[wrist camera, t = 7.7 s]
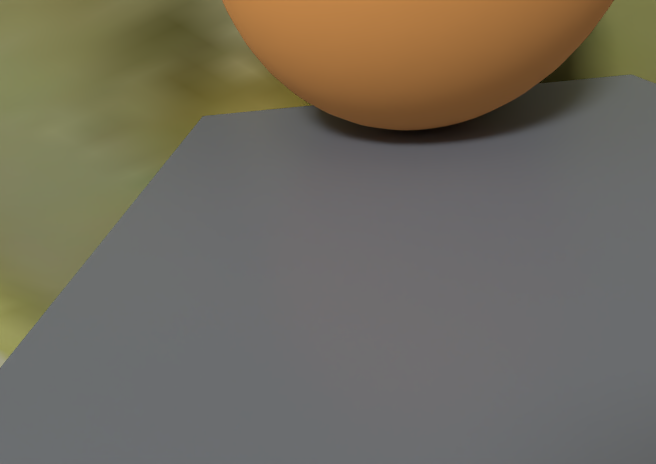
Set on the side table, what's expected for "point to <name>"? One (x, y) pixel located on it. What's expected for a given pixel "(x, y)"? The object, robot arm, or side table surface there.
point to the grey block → (365, 296)
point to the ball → (413, 53)
